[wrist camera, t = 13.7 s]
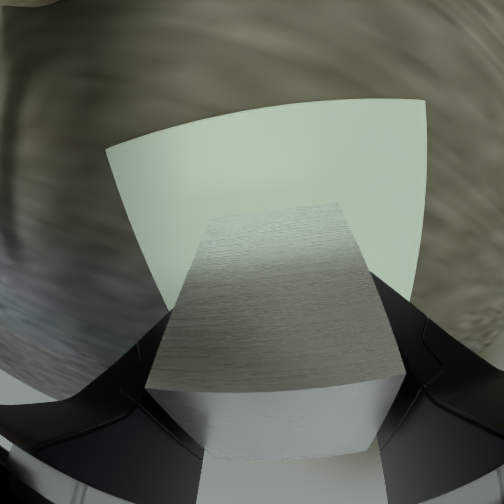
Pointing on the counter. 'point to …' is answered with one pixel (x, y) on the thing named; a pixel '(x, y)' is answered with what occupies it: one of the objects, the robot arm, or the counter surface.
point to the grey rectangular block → (278, 340)
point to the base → (26, 3)
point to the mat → (280, 179)
